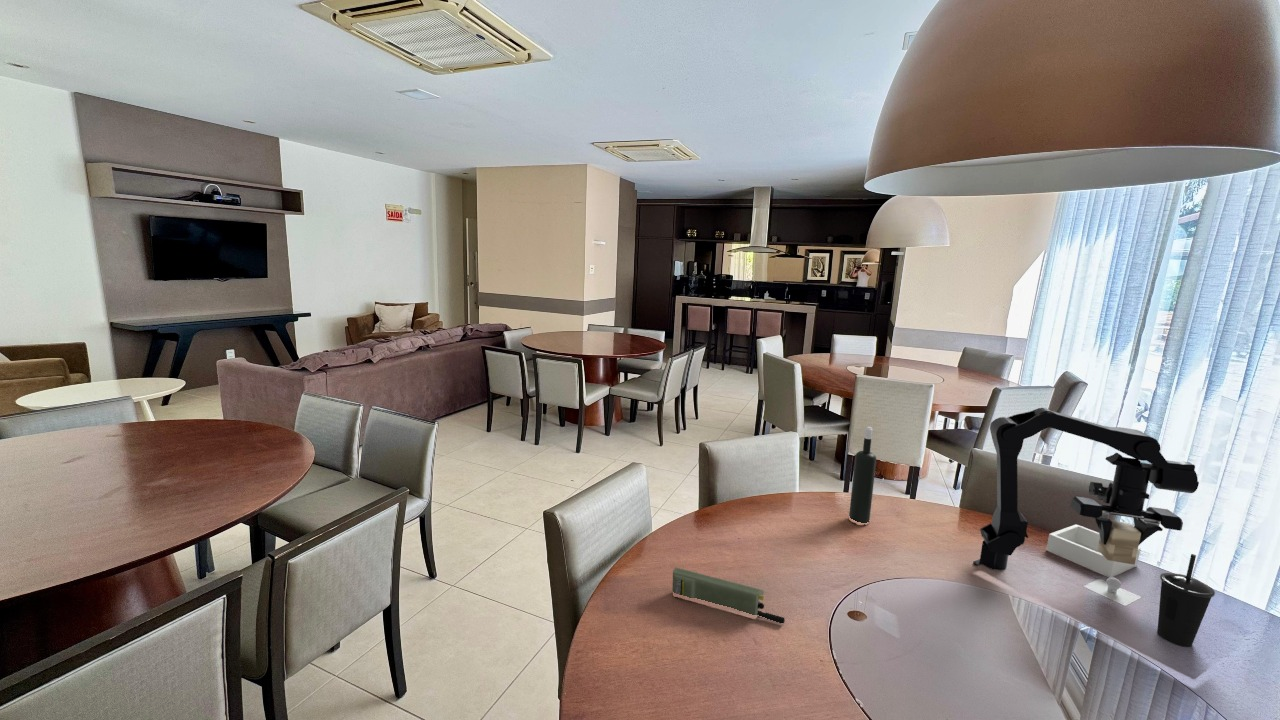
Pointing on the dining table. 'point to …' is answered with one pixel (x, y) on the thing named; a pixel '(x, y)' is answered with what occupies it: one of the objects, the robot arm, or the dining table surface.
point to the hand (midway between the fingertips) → (1117, 546)
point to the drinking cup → (1182, 606)
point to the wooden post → (1121, 543)
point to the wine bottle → (863, 481)
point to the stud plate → (1112, 591)
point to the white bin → (1085, 550)
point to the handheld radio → (720, 592)
